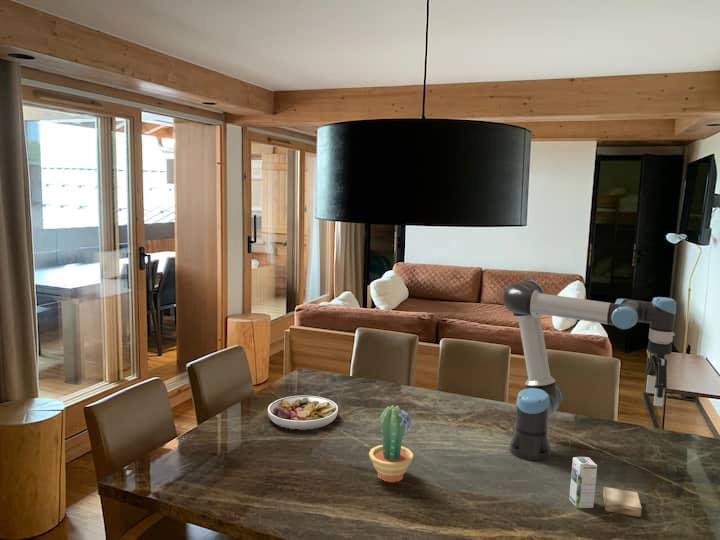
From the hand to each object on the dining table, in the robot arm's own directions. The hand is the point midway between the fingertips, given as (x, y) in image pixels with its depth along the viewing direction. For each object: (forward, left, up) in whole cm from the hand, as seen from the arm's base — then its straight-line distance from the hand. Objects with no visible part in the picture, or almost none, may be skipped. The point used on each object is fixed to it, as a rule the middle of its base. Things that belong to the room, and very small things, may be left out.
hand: (653, 399), depth 206 cm
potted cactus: (-86, -39, -26) cm, 98 cm away
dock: (-12, -32, -26) cm, 43 cm away
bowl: (-135, -3, -26) cm, 138 cm away
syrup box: (-24, -35, -26) cm, 50 cm away
